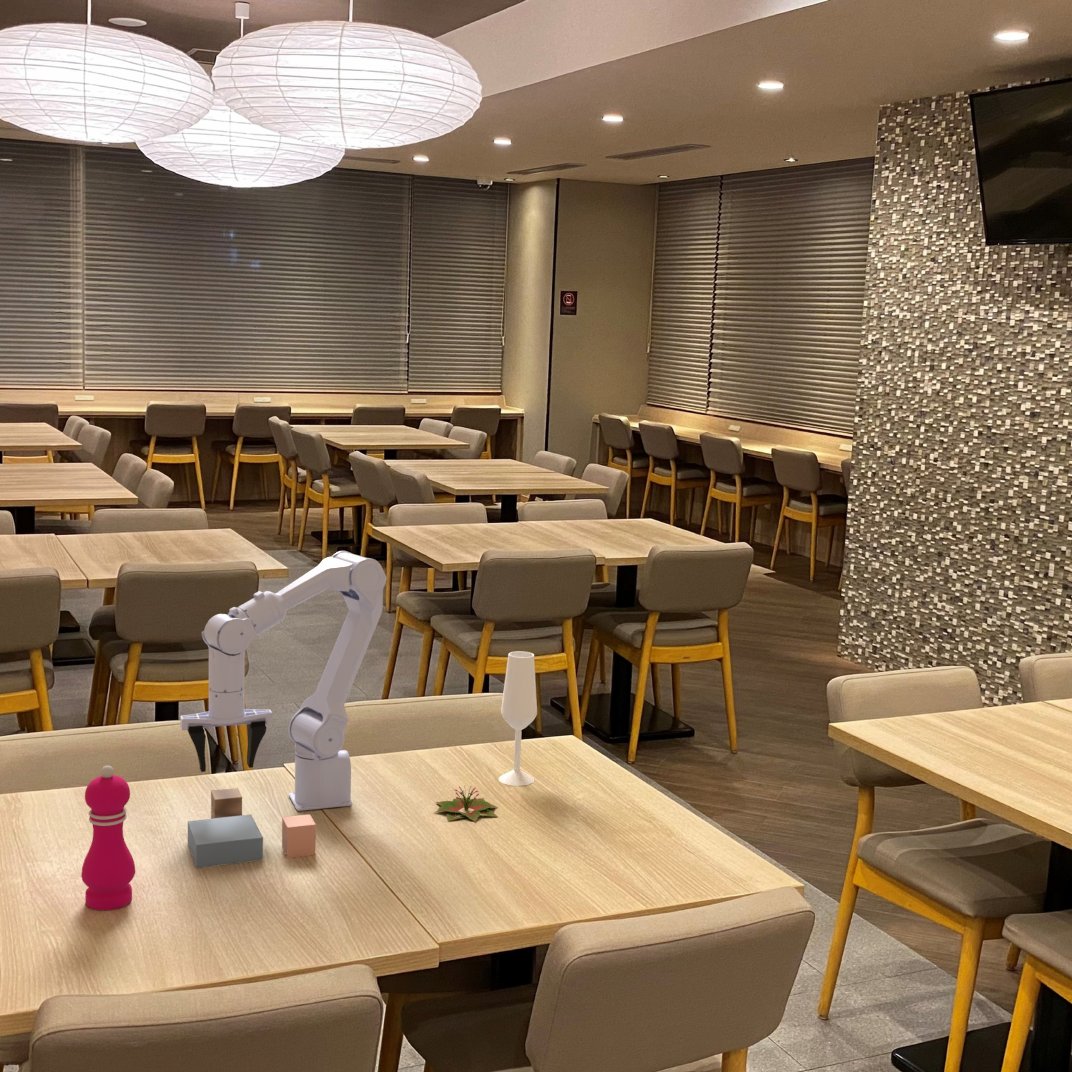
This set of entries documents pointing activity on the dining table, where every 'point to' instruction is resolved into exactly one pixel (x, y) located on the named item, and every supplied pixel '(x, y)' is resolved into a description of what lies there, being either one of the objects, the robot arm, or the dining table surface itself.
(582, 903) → the dining table surface
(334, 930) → the dining table surface
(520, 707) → the champagne flute
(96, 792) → the pepper mill
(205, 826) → the base block
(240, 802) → the walnut block
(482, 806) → the lily flower
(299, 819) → the terracotta block
